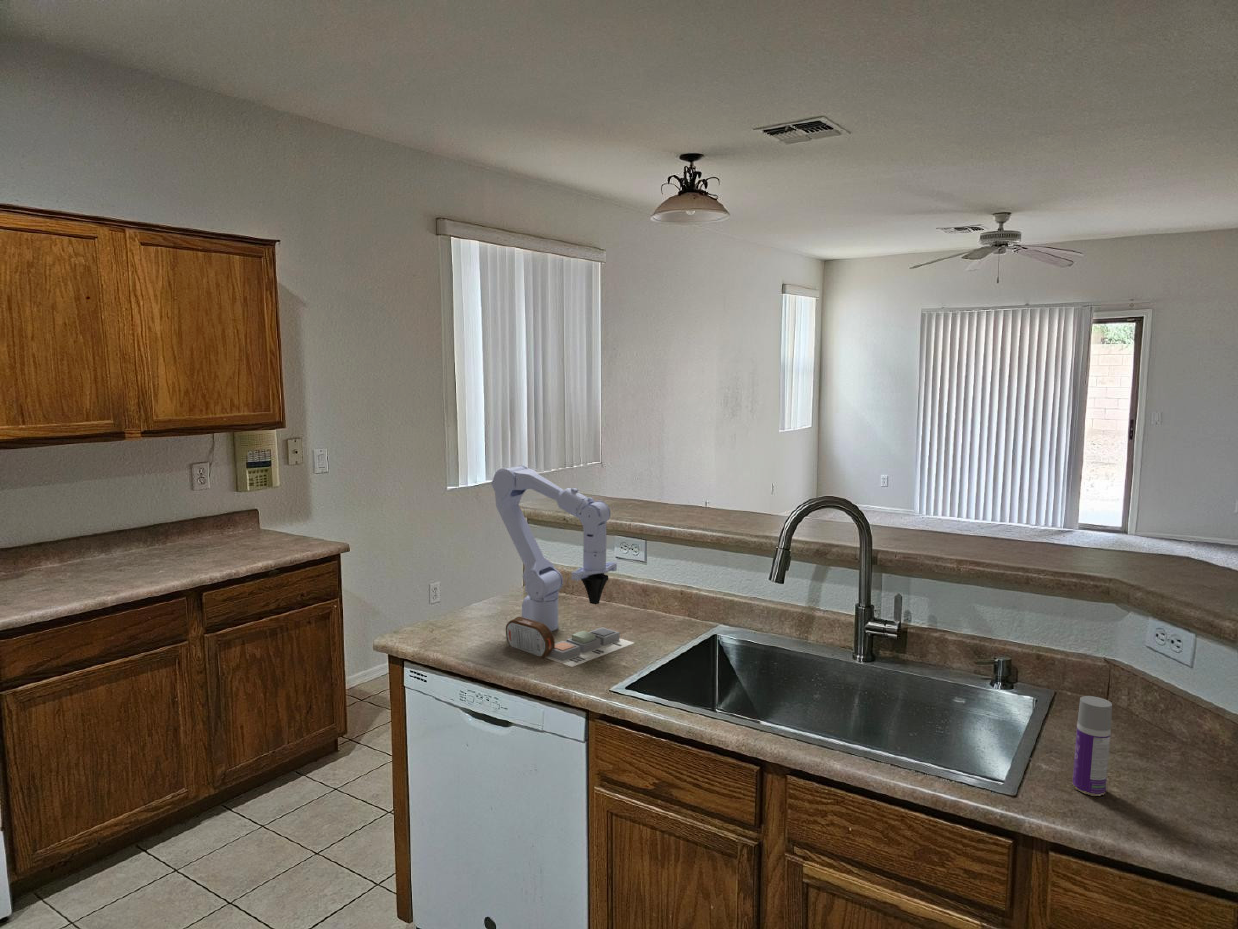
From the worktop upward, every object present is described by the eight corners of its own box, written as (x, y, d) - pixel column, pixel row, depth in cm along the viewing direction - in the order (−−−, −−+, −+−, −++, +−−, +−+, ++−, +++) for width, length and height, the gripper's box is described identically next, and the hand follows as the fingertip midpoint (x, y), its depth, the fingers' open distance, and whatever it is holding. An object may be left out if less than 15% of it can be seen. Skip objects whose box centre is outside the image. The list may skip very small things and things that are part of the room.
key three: (550, 654, 184) (550, 646, 183) (562, 650, 187) (562, 642, 186) (562, 658, 181) (562, 650, 181) (574, 654, 184) (574, 645, 184)
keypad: (537, 658, 184) (537, 646, 184) (600, 636, 200) (600, 624, 200) (572, 671, 176) (572, 658, 176) (634, 646, 193) (635, 635, 193)
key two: (571, 642, 189) (571, 634, 189) (583, 638, 192) (583, 630, 192) (583, 646, 186) (583, 638, 186) (595, 642, 189) (595, 634, 189)
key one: (591, 639, 194) (591, 632, 194) (602, 636, 197) (602, 628, 197) (603, 643, 192) (603, 635, 191) (614, 639, 194) (614, 631, 194)
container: (1065, 782, 130) (1072, 696, 128) (1092, 781, 130) (1099, 695, 129) (1084, 797, 125) (1092, 707, 124) (1112, 796, 126) (1120, 707, 124)
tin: (556, 659, 183) (554, 624, 182) (546, 663, 180) (544, 628, 179) (514, 646, 193) (512, 613, 192) (504, 650, 190) (502, 616, 189)
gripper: (586, 557, 187) (585, 612, 189) (625, 548, 198) (625, 600, 200) (565, 553, 192) (565, 606, 193) (605, 544, 203) (604, 595, 204)
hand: (594, 603), depth 197 cm, fingers closed
